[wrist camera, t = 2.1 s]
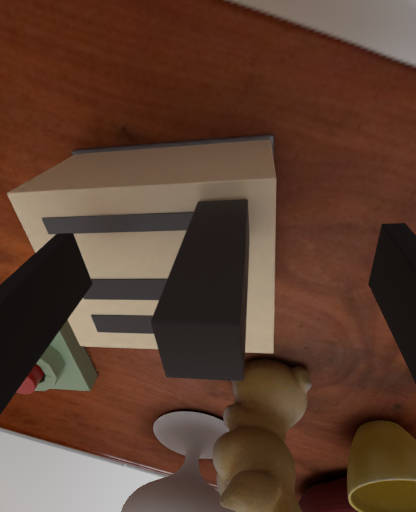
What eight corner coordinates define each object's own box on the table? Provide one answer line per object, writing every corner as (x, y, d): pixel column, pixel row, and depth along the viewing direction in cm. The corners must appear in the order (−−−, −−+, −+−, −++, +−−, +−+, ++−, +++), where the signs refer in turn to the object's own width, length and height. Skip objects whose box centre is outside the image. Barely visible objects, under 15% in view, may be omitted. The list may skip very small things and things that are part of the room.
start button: (-3, 352, 32) (-15, 366, 31) (34, 354, 32) (23, 368, 30) (15, 378, 35) (5, 392, 33) (50, 380, 34) (41, 395, 33)
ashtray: (461, 477, 40) (484, 525, 36) (398, 518, 50) (411, 560, 45) (327, 447, 41) (335, 491, 37) (289, 493, 50) (292, 533, 46)
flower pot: (319, 420, 38) (330, 489, 32) (405, 397, 33) (437, 472, 27) (357, 458, 41) (374, 526, 35) (439, 442, 37) (474, 516, 31)
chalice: (136, 437, 46) (92, 578, 34) (164, 391, 39) (121, 552, 26) (221, 466, 48) (208, 612, 36) (265, 427, 40) (268, 595, 28)
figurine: (204, 377, 36) (176, 548, 24) (238, 333, 31) (225, 519, 19) (278, 406, 37) (288, 584, 25) (321, 368, 32) (360, 564, 20)
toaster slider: (197, 200, 15) (149, 321, 8) (248, 198, 14) (240, 323, 8) (203, 243, 16) (165, 378, 9) (249, 242, 16) (244, 382, 9)
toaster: (74, 149, 23) (-1, 190, 16) (273, 133, 20) (281, 174, 14) (118, 281, 30) (77, 349, 23) (272, 281, 27) (276, 357, 20)
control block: (-19, 302, 34) (-49, 329, 31) (64, 303, 32) (42, 332, 29) (27, 371, 40) (6, 400, 37) (98, 375, 39) (83, 405, 35)
